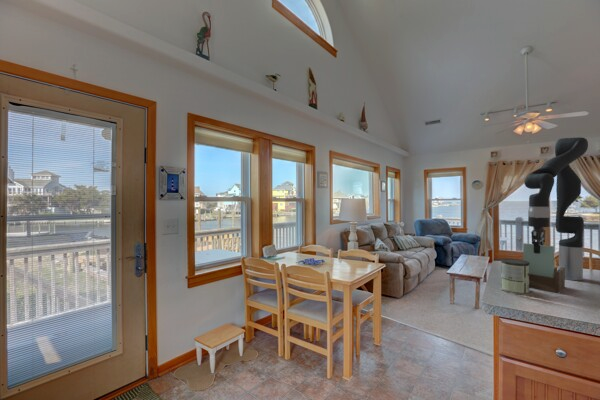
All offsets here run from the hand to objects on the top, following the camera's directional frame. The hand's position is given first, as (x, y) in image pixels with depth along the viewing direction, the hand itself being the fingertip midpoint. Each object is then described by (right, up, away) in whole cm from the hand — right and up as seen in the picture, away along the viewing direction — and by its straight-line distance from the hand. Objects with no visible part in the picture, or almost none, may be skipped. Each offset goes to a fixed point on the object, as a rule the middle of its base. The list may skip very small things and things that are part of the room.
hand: (538, 252), depth 129 cm
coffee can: (-13, -18, -3) cm, 22 cm away
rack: (+3, -17, +3) cm, 18 cm away
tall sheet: (0, -16, 0) cm, 16 cm away
